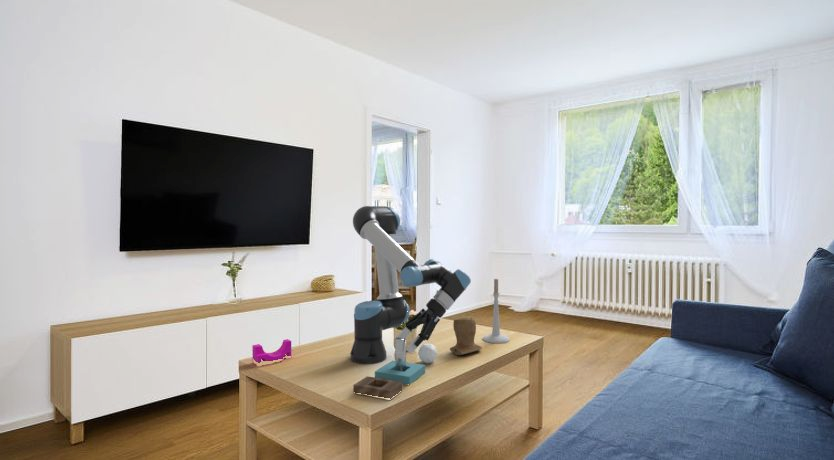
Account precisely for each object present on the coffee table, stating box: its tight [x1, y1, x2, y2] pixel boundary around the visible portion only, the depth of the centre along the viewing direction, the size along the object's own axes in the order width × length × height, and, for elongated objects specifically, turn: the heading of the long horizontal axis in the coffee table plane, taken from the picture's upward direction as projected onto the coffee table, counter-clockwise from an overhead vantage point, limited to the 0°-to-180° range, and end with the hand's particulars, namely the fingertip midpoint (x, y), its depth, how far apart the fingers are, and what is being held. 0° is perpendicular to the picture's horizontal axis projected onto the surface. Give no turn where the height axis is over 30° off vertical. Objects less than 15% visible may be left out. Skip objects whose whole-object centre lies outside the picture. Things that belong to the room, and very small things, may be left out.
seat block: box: [374, 360, 426, 386], centre depth 167 cm, size 14×14×3 cm
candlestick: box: [482, 278, 510, 344], centre depth 217 cm, size 13×13×30 cm
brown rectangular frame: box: [352, 375, 404, 399], centre depth 152 cm, size 14×9×3 cm, turn 66°
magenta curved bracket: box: [251, 338, 292, 363], centre depth 185 cm, size 15×6×8 cm, turn 128°
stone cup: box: [449, 317, 483, 356], centre depth 198 cm, size 15×12×15 cm
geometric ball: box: [417, 343, 438, 364], centre depth 183 cm, size 8×8×8 cm
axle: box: [394, 337, 407, 372], centre depth 167 cm, size 4×4×14 cm
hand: (402, 346), depth 167 cm, fingers open, 13 cm apart
